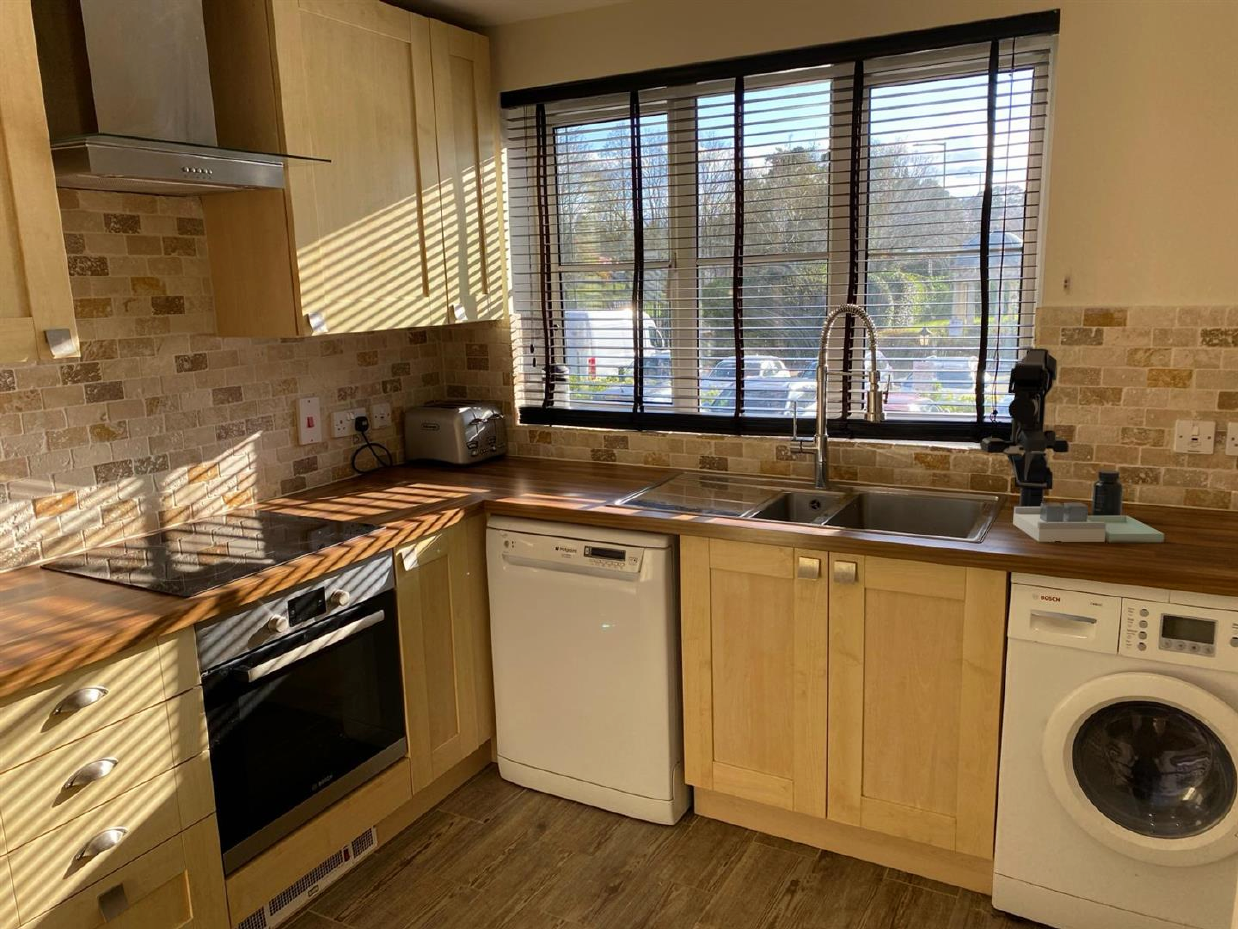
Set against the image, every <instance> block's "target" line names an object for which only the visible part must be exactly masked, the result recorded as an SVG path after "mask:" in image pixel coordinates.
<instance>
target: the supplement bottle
mask: <svg viewBox="0 0 1238 929" xmlns="http://www.w3.org/2000/svg"><path fill="white" fill-rule="evenodd" d="M1097 475H1098V476H1097V479H1098V480H1096V481H1095V482H1094V483H1093V486H1092V500H1091V502H1092V505H1091V516H1122V512H1123V511H1122V509H1123V493H1124V485H1123V483H1122V482H1120V481H1119V480H1120V472H1119V471H1117V470H1112V469H1111V470H1110V469H1103V470H1098V473H1097Z"/></svg>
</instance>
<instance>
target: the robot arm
mask: <svg viewBox="0 0 1238 929" xmlns="http://www.w3.org/2000/svg"><path fill="white" fill-rule="evenodd" d="M1009 375H1010V377H1009V383H1008V390H1007V392H1008V393H1007V394H1013V395H1014V397H1013V400H1012V401H1011V402H1010V403H1009V405H1008V414H1009V416H1010V418H1011V421H1010V424H1012V429H1011V430H1012V431H1011V432H1012V433H1011V435H1010V438H1009V440H1010V441H1005V440H1003V439H1001V438H999V437H994V438H993V437H988V438H987V437H984V438H983V439H982V440H981V443H980V450H981V451H983V452H986V453H988V454H1003V455H1006V457H1007V459H1008V460H1009V461H1008V462H1010V465H1011V468H1012V471H1013V473H1014V488H1016V489H1017V488H1020V494H1019V504H1015V505H1014V507H1041V503H1044V496H1045V494H1044V493H1045V490H1046V491H1049V490H1053V484H1054V478H1053V477H1054V474H1053V471H1052V470H1051V467H1050V466H1049V458H1048V457H1047V455H1048V453H1046V450H1049V449H1050V450H1052V451H1053V452H1055V453H1069V448H1070V445H1069V442H1068V440H1066V439H1064V438H1061V437H1056V431H1055V430H1053V429H1052V430H1051V429H1050V430H1049V429H1048V430H1047V429H1046V430H1045V420H1046V418H1045V417H1046V403H1047V395H1048V394H1049V392H1050V391H1051V390H1052V388H1053V387H1054V383H1055V381H1057V377H1058V361H1057V359H1056V358H1055V357H1053V356H1052V355H1050V351H1049V349H1046V348H1029V349H1027V350H1026V355H1025V356H1024V357H1023V358H1022V359H1021V362H1017V363H1015V365H1014V367H1012V368H1011V369H1010V374H1009ZM1020 450H1024V452H1023V454H1022V453H1021V452H1020Z"/></svg>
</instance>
